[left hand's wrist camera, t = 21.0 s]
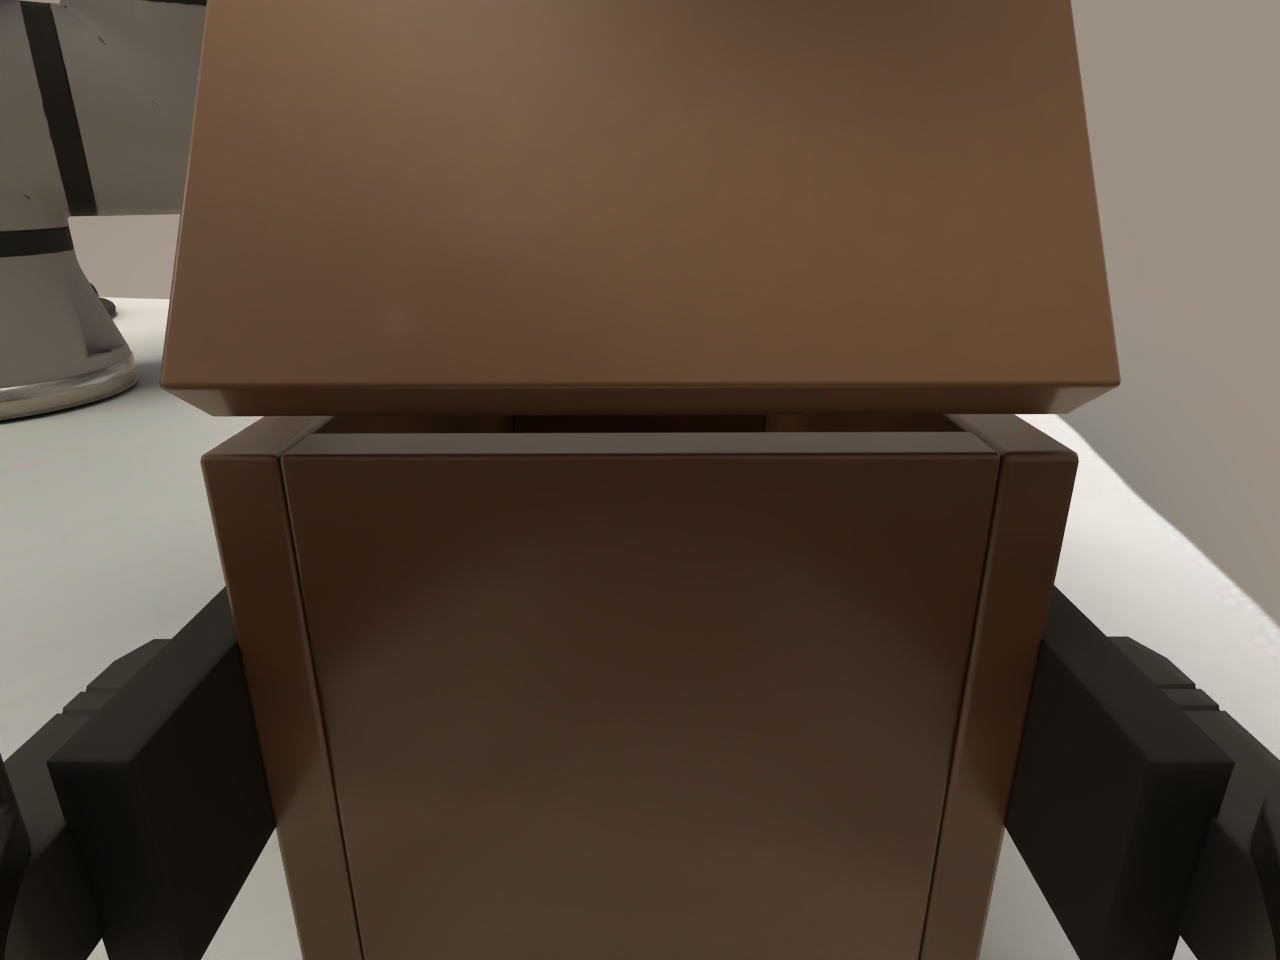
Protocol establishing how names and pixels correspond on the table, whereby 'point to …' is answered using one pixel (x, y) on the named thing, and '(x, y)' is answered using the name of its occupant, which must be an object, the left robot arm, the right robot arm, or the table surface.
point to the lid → (639, 210)
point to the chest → (640, 676)
